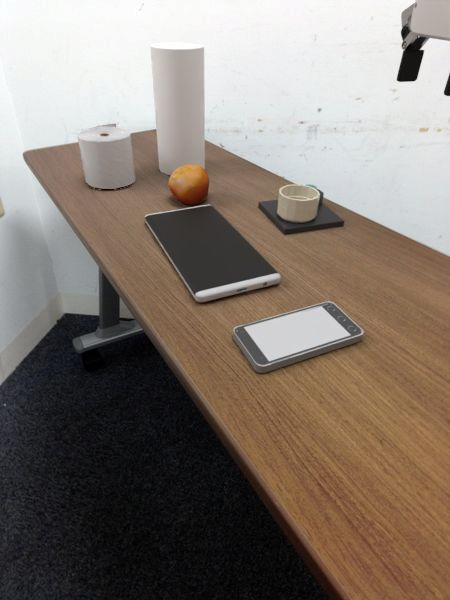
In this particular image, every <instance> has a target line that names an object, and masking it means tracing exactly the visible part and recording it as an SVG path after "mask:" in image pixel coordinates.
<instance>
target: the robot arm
mask: <svg viewBox="0 0 450 600" xmlns="http://www.w3.org/2000/svg"><path fill="white" fill-rule="evenodd" d="M400 19H401V29H400V37H401V40H402V43H401V50H403V51H402V55H401V59H400V63H399V67H398V71H397V76H396V81H397V82H399V83H405V82H406V83H408V82H410V83H411V82H416V81H417V80H418V77H419V73H420V70H421V65H422V61H423V57H424V55H425V49H422V48H423V47H424V46H425V45H426V43H427V42H428V41H429V39H432V40H433V39H435V40H440V41H446V42H450V0H415V1H414V2H413V3H412V4H411V5H409V6H408V7H406V8H405V9H404V10H403V11H402V12H401V16H400ZM443 95H444V96H445V97H450V72H449V74H448V77H447V80H446V84H445V87H444V90H443Z"/></svg>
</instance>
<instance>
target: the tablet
mask: <svg viewBox="0 0 450 600" xmlns="http://www.w3.org/2000/svg"><path fill="white" fill-rule="evenodd" d="M144 222H145V223H146V226H147V227H148V228H149V230H150V232H151V234H153V236H154V238H155V239H156V241H157V242H158V244H159V246H160V247H161V248H162V250H163V252H164V253H165V255H166V257H167V259H169V261H170V262H171V264H172V266H173V267H174V269H175V270H176V272H177V274H178V275H179V277H180V279H181V280H182V281H183V283H184V285H185V286H186V288H187V289H188V291H189V293H190V294H191V296H192V297H193V299H194V300H195V301H196V302H198V303H206V302H210V301H213V300H217V299H218V300H219V299H221V298H226V297H229V296H234V295H239V294H241V293H246V292H250V291H254V290H258V289H262V288H266V287H271V286H275V285H278V284H279V283H280V282H281V278H282V277H281V274H280V273H279V271H277V270H276V269H275V268H274V267H273V266H272V265H271V263H269V262H268V260H266V259H265V258H264V257H263V256H262V255H261V253H260V252H258V251H257V249H255V248H254V246H253V245H251V243H250V242H249V241H248V240H247V239H246V238H245V237H244V236H243V235H242V234H241V233H240V232H239V231H238V230H237V229H236V228H235V227H234V226H233V225H232V223H231V222H229V221H228V219H226V218H225V216H223V214H222V213H221V212H220V211H219V210H217V208H215V207H214V206H213V205H212V204H204V205H203V204H202V205H195V206H191V207H184V208H179V209H171V210H166V211H159V212H154V213H148V214H146V215H145V216H144Z"/></svg>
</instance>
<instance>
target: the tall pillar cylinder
mask: <svg viewBox="0 0 450 600" xmlns="http://www.w3.org/2000/svg"><path fill="white" fill-rule="evenodd" d="M150 59H151V74H152V87H153V100H154V114H155V115H154V116H155V129H156V142H157V143H156V144H157V157H158V169H160V170H159V171H160V172H161V173H162V174H164V175H166V176H171V174H172V173H173V172H174V171H175V170H176V169H177V168H179V167H181V166H185V165H187V164H195V165H199V166H201V167H202V168H203V169H205V170H206V139H205V138H206V136H205V131H206V128H205V125H206V122H205V121H206V120H205V119H206V117H205V114H206V113H205V45H204V44H200V43H195V42H183V41H167V42H156V43H152V44H150Z"/></svg>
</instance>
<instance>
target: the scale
mask: <svg viewBox="0 0 450 600" xmlns="http://www.w3.org/2000/svg"><path fill="white" fill-rule="evenodd" d="M317 190H318V191H319V193H320V198H319V204H318V210H317V215H316V217H315V218H314V219H312V220H311V221H308V222H304V223H294V222H289V221H286V220H284V219H282V218H281V217H280V216H279V215H278V214H277V204H278V199H271V200H264V201H263V200H261V201H258V205H257V206H258V207H257V208H258V209H259V210H260V211H261V212H262V213H263V214H264V215H265V217H267V218H268V220H270V222H271V223H272V224H273V225H274V226H275V227H276V228H277V229H278V230H279V231H280V233H282V234H283V235H284V236H287V235H289V236H290V235H295V234H303V233H310V232H315V231H321V230H326V229H327V230H328V229H334V228H341V227H342V228H343V227H344V225H345V219H343V218H342V217H340V216H339V214H337V213H336V212H335V211H334V210H332V209H331V208H330V207H328V206H327V205H326V204H325V203H323V201H324V197H325V196H324V194H325V193H324V192H323V191H322V189H321V190H320V189H318V188H317Z"/></svg>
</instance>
